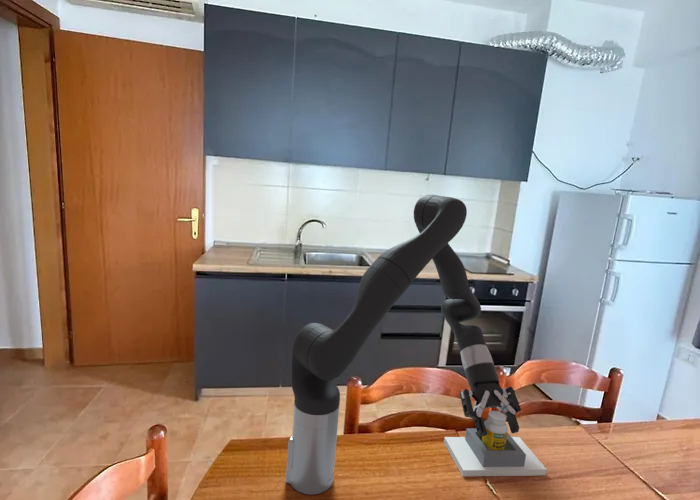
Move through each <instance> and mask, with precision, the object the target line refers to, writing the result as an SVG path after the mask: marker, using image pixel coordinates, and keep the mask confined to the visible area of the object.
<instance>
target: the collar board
mask: <svg viewBox="0 0 700 500" xmlns="http://www.w3.org/2000/svg"><path fill="white" fill-rule="evenodd" d="M443 439H444V440H443V444H444V445H445V447H446V449H447V450H448V451H447V452H448V453H449V455H450V456H451V458H452V460H453V462H454V463H455V465H456V467H457V470H459V472H460V474H461V476H462V477H510V476H511V477H514V476H515V477H517V476H518V477H519V476H521V477H522V476H523V477H524V476H525V477H526V476H529V477H530V476H531V477H532V476H534V477H535V476H547V472H548V469H547V468H546V466H544V464H543V463H542V462H541V461H540V459H538V457H537V456H536V455H535V453H533V451H532V450H531V449H530V448H529V447H528V445H527V444H526V443H525V442H524V441H523V440H522V439H521V437H520V436H511V435H510V433H507V439H506V446H505V450H503V451H488V450H487V449H486V447H485V446H484V444H483V443H482V436H480V434H478V432H477V430H476V427H475V428H473V427H472V428H465V436H444V438H443Z"/></svg>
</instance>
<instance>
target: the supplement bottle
mask: <svg viewBox="0 0 700 500" xmlns="http://www.w3.org/2000/svg"><path fill="white" fill-rule="evenodd" d="M506 423H507V416H506V415H505V414H504V413H503V412H502V411H500V410H490V411H489V412H488V415H487V419H486V420H484V424H485V427H486V431H487V435H485V436H482V443H483V444H484V446H485V447H486V449H487V450H488V451H503V450H505V446H506V439H507V433H508V432H509V430H508V429H509V428H508V427H509V426H508V424H506ZM508 434H509V433H508Z"/></svg>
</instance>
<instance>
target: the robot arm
mask: <svg viewBox="0 0 700 500" xmlns="http://www.w3.org/2000/svg"><path fill="white" fill-rule="evenodd" d="M467 212H468V211H467V205H466V204H465V202H463V201H462V200H460V199H459V198H455V197H451V196H444V195H438V194H425V195H422V196H421V197H419V198H418V200H417V201H416V203H415V205H414V208H413V220H414V223H415V227H416V229H417V230H418V234H417V235H415V236H414V237H411V238H410V239H408V240H405V241H403V242H401V243H399V244H396V245H395V246H392V247H391V248H389V249H387V250H385V251H383V253H381V254H380V255H379V256H378V257H377V258H376V259H375V260H374V261H373V262H372V264H371V265H369V267H368V268H367V269H366V270H365V272H364V273H363V275H362V276H361V279H360V281H359V285H358V289H357V292H356V298H355V301H354V305H353V307H352V309H351V311H350V312H349V314H348V315H347V317H346V318H345V319H344V320H343V322H341V323H340V324H339V325H338V327H336V328H335V330H334V329H332V328H331V327H328V326H326V325H324V324H322V323H321V322H319V323H318V322H311V323H307V324H306V325H304V326H303V327H302V328H301V329H300V330H299V331H298V332H297V334H296V336H295V338H294V340H293V345H292V350H291V352H292V353H291V388H292V389H291V390H292V392H293V395H294V400H293V401H294V403H293V404H294V405H293V419H292V421H293V422H292V435H291V436H290V437H289V439H288V442H287V454H286V455H287V457H286V471H285V472H286V473H285V483H287V484H290V485H291V487H292V488H293V489H294V490H296V492H298V493H301V494H305V495H318V494H321V493H325V492H326V491H327V490H329V489H330V488H331V487H332V485H333V483H334V477H335V476H334V475H335V466H336V465H335V462H336V451H337V440H338V439H337V438H338V427H339V414H340V402H341V392H340V389H339V387H338V386H337V384H336V382H335V379H337V378H338V377H340V376H341V375H342V374H343V373H344V372H345V371H346V370H347V369H348V368H349V366H350V365H351V364H352V363H353V361H354V359H356V357H357V355H358V354H359V352H360V351H361V349H362V347H363V346H364V344H365V343H366V341H367V340H368V338H369V337H370V336H371V334H372V333H373V332H374V330H375V329H376V327H377V326H378V324H380V322H381V321H382V319H383V318H384V317H385V316H386V315H387V313H388V312H389V311H390V309H392V307H393V306H394V305H395V304H396V303H397V301H398V300H399V299H401V297H402V296H403V294H404V293H405V292H406V291H407V290H408V289H409V287H410V286H411V284H412V283H413V282H414V281H415V280H416V279H417V277H418V275H419V274H420V273H421V272H422V271H423V270H424V269H425V268H426V266H428V264H429V263H430V262H431V261H433V263H434V266H435V268H436V272H437V275H438V278H439V282H440V284H441V289H442V292H443V294H444V296H445V297H446V298H447V299H445V300H443V301H442V304H441V307H440V310H441V314H442V316H443V318H444V319H445V321H446V322H447V324H448V325H449V327H450V328H451V331H452V333H453V335H454V337H455V339H456V342H457V345H458V348H459V349H458V350H459V354H460V358H461V359H460V360H461V363H462V367H463V370H464V373H465V377H466V381H467V385H468V387H469V388H470V390H469V389H467V388H464V389H463V390H462V391H460V393H459V397H460V401H461V407H462V411H463V415H464V417H465V418H471V419H472V420H473V422H474V423H473V424H474V426H475V428H476V430H477V432H478V434H480V436H485V435H487V431H486V427H485V424H484V422H485V420H484V419H483V417H482V415H483V412H484V410H486V409H489V408H490V409H495V408H496V409H498V411H500V412H501V413H503V414H504V415H505V416H506V422H507V425H508V427H509V430H510V433H511V434H517V433H519V432H520V426H519V425H520V424H519V423H518V419H517V416H516V415H517V413H519V412H521V411H522V408H521V405H520V402H519V400H518V398H517V396H516V393H515V390H514V388H513V387H512V386H508V387H505V388H503V387H502V386H501V385H500V378H499V376H498V372H497V369H496V366H495V363H494V360H493V357H492V355H491V352H490V351H489V349H488V346H487V343H486V339H485V337H484V334H483V330H482V329H481V327H479V326H478V325H473V324H472V325H470V324H469V325H466V324H465V325H464V324H462V323H463V322H467V321H472V320H475V319H477V318H478V317H479V316H480V315H481V313H482V307H481V303H480V302H479V300H478V298H477V297H476V295H475V293H474V292H473V291H472V289H471V287H470V284H469V281H468V276H467V271H466V268H465V266H464V264H463V261H462V260H461V259H460V257H459V255H457V253H456V251H455V250H454V249H453V248H452V246H451V245H450V244H449V243H450V242H451V241H452V240H453V239H454V238H455V237H456V236H457V234H458V233H459V232H460V230H461V229H462V228H463V226H464V224H465V221H466V219H467ZM472 398H473V400H474V401H475V403H474V406H473V403H472Z"/></svg>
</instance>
